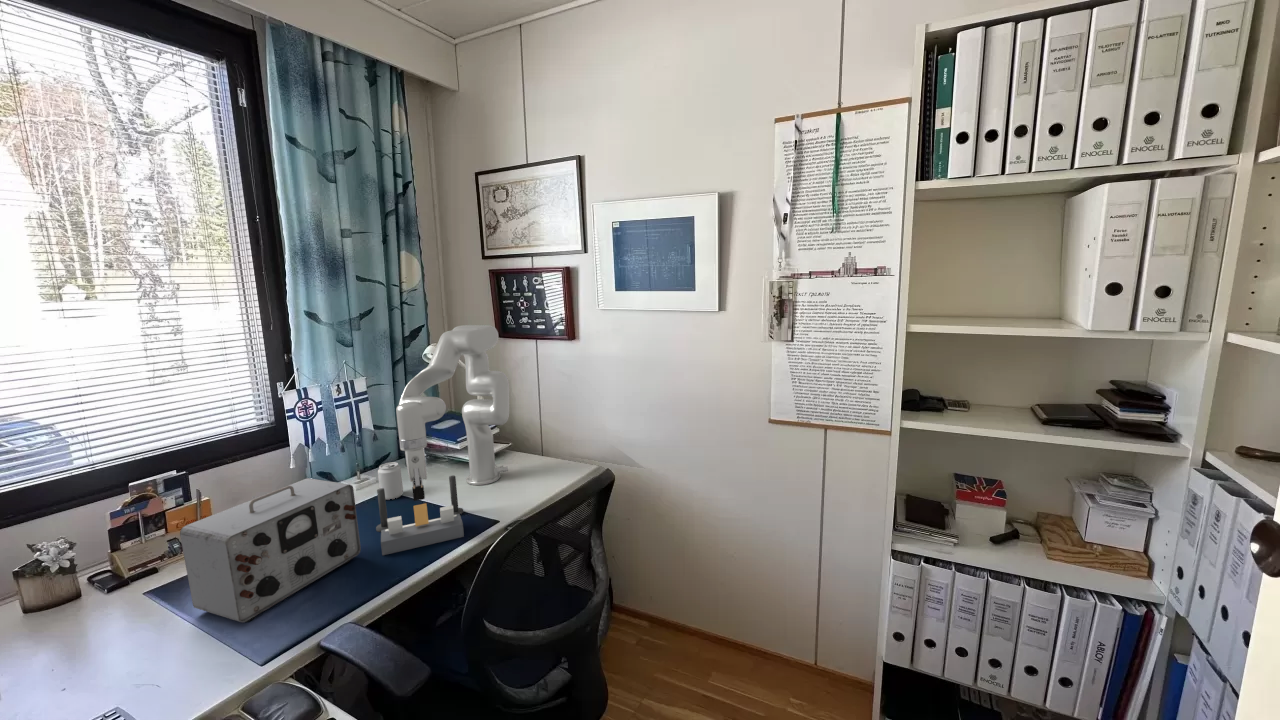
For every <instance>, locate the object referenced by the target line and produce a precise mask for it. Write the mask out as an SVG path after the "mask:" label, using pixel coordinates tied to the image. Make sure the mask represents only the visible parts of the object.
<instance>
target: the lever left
mask: <svg viewBox="0 0 1280 720" xmlns="http://www.w3.org/2000/svg"><path fill="white" fill-rule="evenodd" d="M387 523H388V529H389V535H391V534H395V533H400V532H403V520H402V515H400V516H399V515H398V516H393V517H389V518H388V519H387Z"/></svg>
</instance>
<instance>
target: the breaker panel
mask: <svg viewBox="0 0 1280 720" xmlns="http://www.w3.org/2000/svg"><path fill="white" fill-rule="evenodd" d="M428 522H429V524H426V525H421V526H417V527H416V526H415V522H414V523H409V524H404V525H403V524H402V526H403V532H400V533H395V534H391V535H389V529H385V530H381V532H380V548H381V555H382V556H385V555H386V556H387V555H389V554H395V553H399V552H404V551H408V550H412V549H415V548H417V549H418V548H420V547H425V546H426V547H427V546H429V545H430V546H431V545H434V544H437V543H442V542H446V541H451V540H456V539H460V538H464V537H465V536H464V535H465V533H464V523H463V520H462V516H461V515H460V514H455V515H454V521H451V522H446V523H441V517H437V518H432V519H428Z"/></svg>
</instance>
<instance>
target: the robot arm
mask: <svg viewBox="0 0 1280 720" xmlns="http://www.w3.org/2000/svg"><path fill="white" fill-rule="evenodd" d="M499 338H500V337H499V332H498V329H497V328H496V327H495V326H492V325H490V324H487V325H486V324H484V325H483V324H482V325H481V324H479V325H478V324H476V325H475V324H467V325H466V324H464V325H458V326H455V327H454V328H453V329H452V330H448V331H444V332H443V333H442V334H441V335H440V337H439V340H438V342H437V344H436V346H435V349H434V351H433V354H432V356H431V358H430V361H429V364H428V365H427V367H425V368H424V369H422V370H421V371H420V372H418V374H416V375H415V376H414V377H412V379H411V380H410V381H408V383H407V384H406V386H405V388H404V390H403V392H402V394H401V397H400V399H399V402H398V405H397V406H396V409H395V410H396V411H395V412H396V422H397V429H398V430H397V431H398V438H399V441H398V442H399V449H400V451H402V452H403V451H404V455H405V463H406V468H407V469H406V470H407V473H408V478H409V481H410V483H412V487H411V489H412V498H413V501H414V502H415V501H421V500H425V498H426V497H425V488H424V487H425V486H424V485H423V484H424V483H423V480H425V481H426V480H427V479H428V473H427V465H426V464H427V463H426V455H425V448H426V447H427V446H428V441H427V430H426V423H429V422H434V421H437V420H440V419H441V418H442V417H443V416H444V415H445V413H446V410H447V406H446V402H445V401H444V400H443V399H442V398H440V397H436V396H422V394H423V393H424V392H426V390H428V389H430V388H431V387H433V386H436V385H437V384H438V385H439V384H440V383H443V382H445V381H447V380H449V379H451V378H452V377H453V376H454V374H455V372H456V370H457V367H458V364H459V362H460V360H461V357H462V356H463V357H464V360H465V364H464V365H465V389H466V392H467V393H468V394H469V395H470V396H477V397H492V399H483V398H482V399H479V398H475V399H470V400H467V401H466V402H465V403H464V404H463V405H462V407H461V414H462V415H461V416H462V420H463V423H464V426H465V432H466V441H467V442H466V443H467V453H468V464H469V465H468V466H469V475H467V477H466V478H465V479H466V483H467V484H469V485H472V486H485V485H489V484H492V483H495V482H497V481H498V480H499V479H500V478H501V473H502V472H503V473H506V472H509V468H508V466H504V465H499V466H497V465H496V461H495V459H496V458H495V457H496V456H495V447H494V446H495V445H494V434H493V431H492V429H491V427H490V426H504V424H506V423H507V422H508V420H509V417H510V416H509V415H510V382H509V378H508V376H507V375H506V373H505V372H503V371H499V370H490V365H489V364H490V363H489V362H490V358H489V356H488V353H487V351H489V350H491V349H494V347H496V345H497V344H498V341H499Z"/></svg>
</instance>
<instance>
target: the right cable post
mask: <svg viewBox="0 0 1280 720" xmlns="http://www.w3.org/2000/svg"><path fill="white" fill-rule="evenodd" d="M456 477H457V476H456V475H449V476H448V479H449V480H448V481H449V492H450V493H449V494H450V501H451V506H452V505H453V510H454V515H455V514H461V515H463V514H464V508H463V507H459V502H458V501H459V500H458V491H457V490H458V489H457V488H458V487H457V478H456ZM462 513H463V514H462Z"/></svg>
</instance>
